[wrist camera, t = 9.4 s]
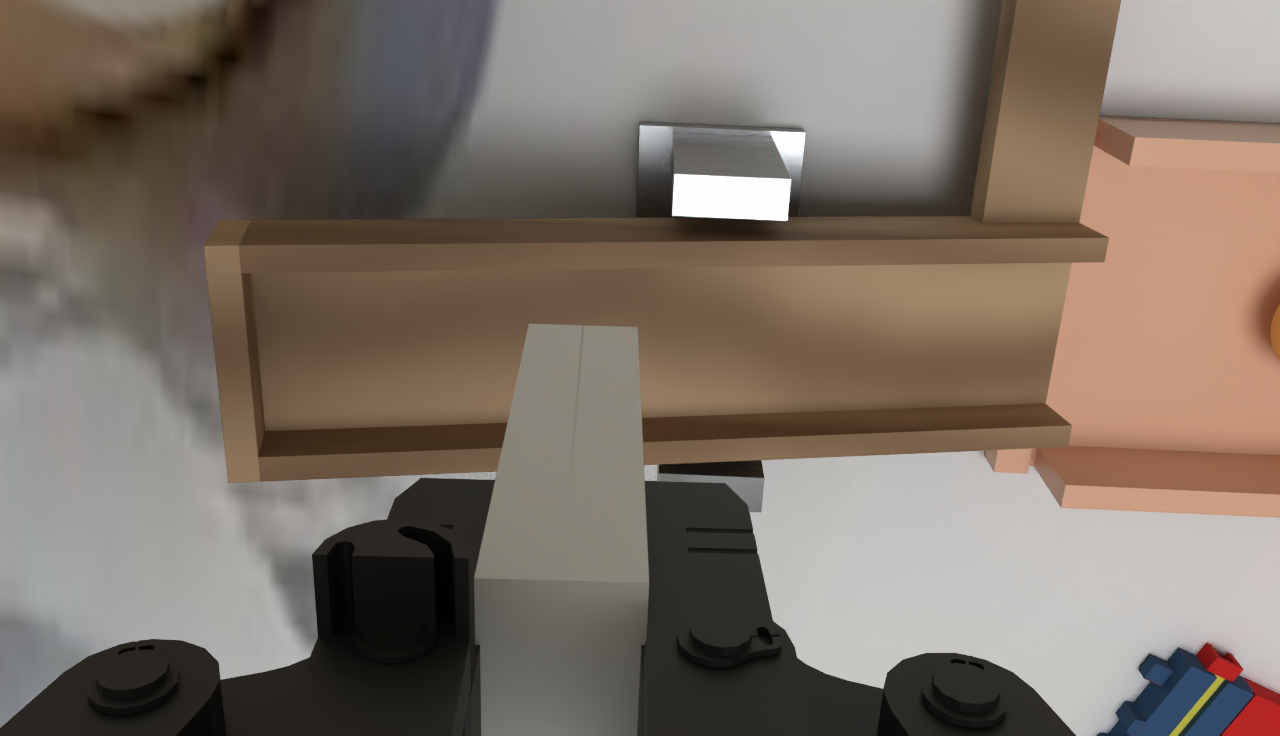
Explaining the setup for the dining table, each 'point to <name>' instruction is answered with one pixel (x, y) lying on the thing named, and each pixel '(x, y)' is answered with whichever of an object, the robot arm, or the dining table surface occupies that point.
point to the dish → (1171, 326)
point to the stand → (719, 188)
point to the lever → (684, 308)
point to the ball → (1276, 333)
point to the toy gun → (1198, 699)
